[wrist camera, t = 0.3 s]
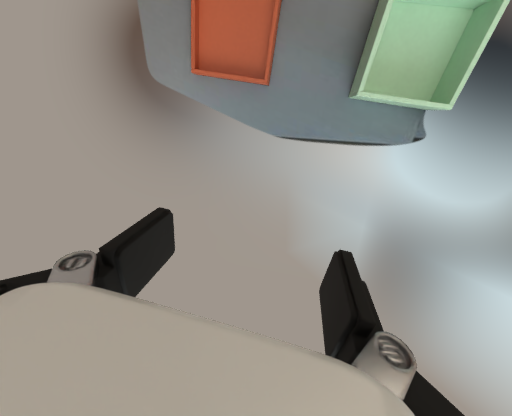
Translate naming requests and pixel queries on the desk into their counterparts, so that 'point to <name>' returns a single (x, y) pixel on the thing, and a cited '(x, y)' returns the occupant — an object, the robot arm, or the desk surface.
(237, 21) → the orange tray
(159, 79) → the desk surface
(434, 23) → the sage bin
